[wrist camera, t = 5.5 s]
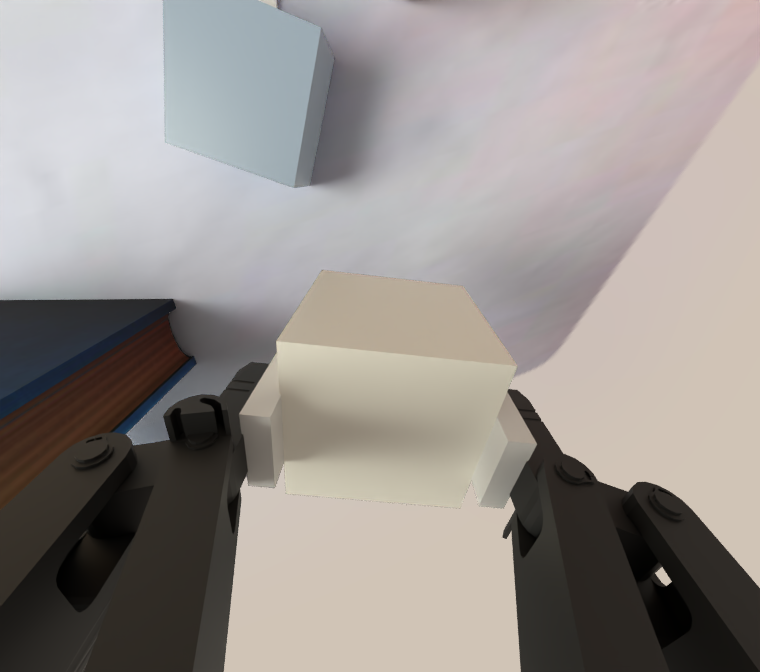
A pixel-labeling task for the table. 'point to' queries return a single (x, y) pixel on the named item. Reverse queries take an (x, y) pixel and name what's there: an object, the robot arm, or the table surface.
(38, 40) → the table surface
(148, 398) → the book
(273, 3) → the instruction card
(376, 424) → the cream cube
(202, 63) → the base block
